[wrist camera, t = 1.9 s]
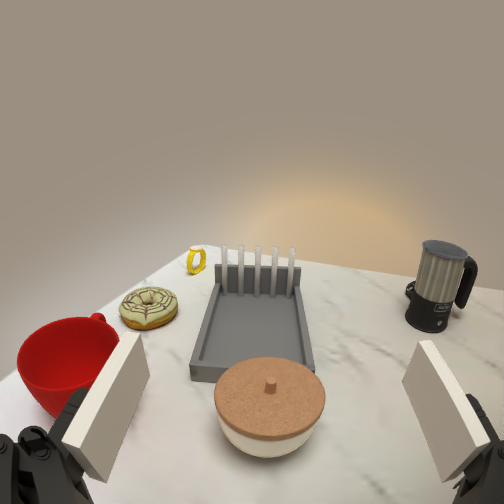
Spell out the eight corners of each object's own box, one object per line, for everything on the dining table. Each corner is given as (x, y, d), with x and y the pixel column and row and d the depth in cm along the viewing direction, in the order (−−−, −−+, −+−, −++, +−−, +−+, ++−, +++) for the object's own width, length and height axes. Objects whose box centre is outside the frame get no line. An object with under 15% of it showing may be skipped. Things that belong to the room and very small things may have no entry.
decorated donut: (110, 319, 50) (106, 301, 48) (150, 295, 58) (147, 278, 57) (149, 340, 45) (145, 321, 44) (189, 310, 54) (188, 292, 52)
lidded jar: (198, 442, 28) (188, 389, 25) (251, 389, 36) (253, 332, 33) (284, 488, 23) (296, 444, 19) (327, 420, 31) (344, 365, 28)
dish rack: (297, 297, 59) (302, 244, 55) (312, 386, 37) (325, 318, 33) (216, 294, 60) (214, 241, 56) (191, 380, 37) (182, 313, 33)
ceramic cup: (153, 360, 40) (141, 302, 37) (127, 457, 25) (97, 401, 21) (77, 353, 40) (60, 298, 36) (35, 433, 24) (-3, 376, 20)
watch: (199, 267, 72) (198, 243, 70) (208, 269, 71) (208, 245, 69) (184, 274, 67) (183, 249, 65) (194, 277, 66) (193, 251, 64)
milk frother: (425, 339, 45) (450, 261, 39) (375, 298, 59) (388, 229, 53) (467, 320, 49) (488, 252, 43) (419, 287, 63) (433, 226, 57)
